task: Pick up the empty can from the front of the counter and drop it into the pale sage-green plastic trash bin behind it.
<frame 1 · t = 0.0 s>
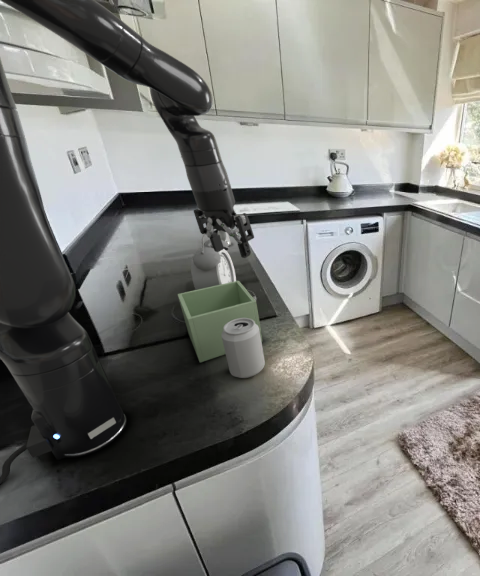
hand: (232, 253, 77), 22 cm above the table, tool pointing down, fingers open, 8 cm apart
can: (248, 369, 73), on the table
alarm clock: (220, 301, 102), on the table
bin: (225, 337, 84), on the table
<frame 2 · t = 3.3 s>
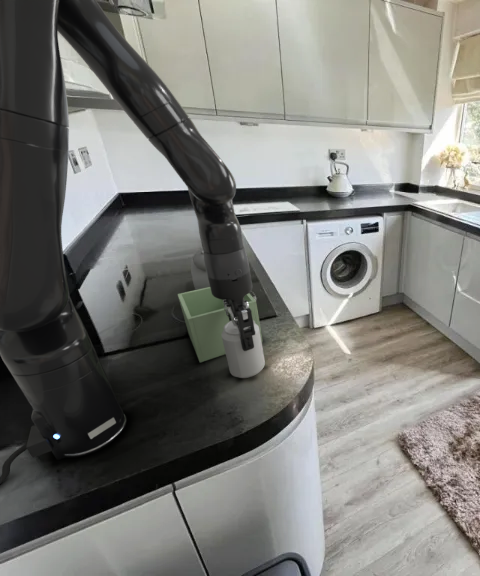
hand: (242, 339, 70), 8 cm above the table, tool pointing down, fingers closed on can, 7 cm apart
can: (248, 369, 73), on the table, touching gripper
everything else where it was.
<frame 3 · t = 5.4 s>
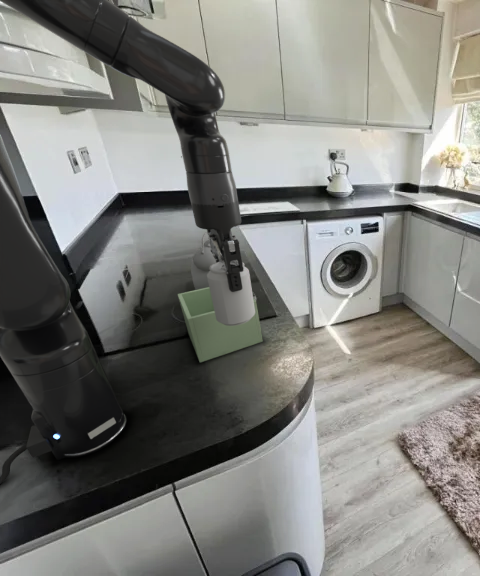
hand: (230, 282, 64), 22 cm above the table, tool pointing down, fingers closed on can, 7 cm apart
can: (236, 319, 67), point 13 cm above the table, touching gripper
everything else where it was.
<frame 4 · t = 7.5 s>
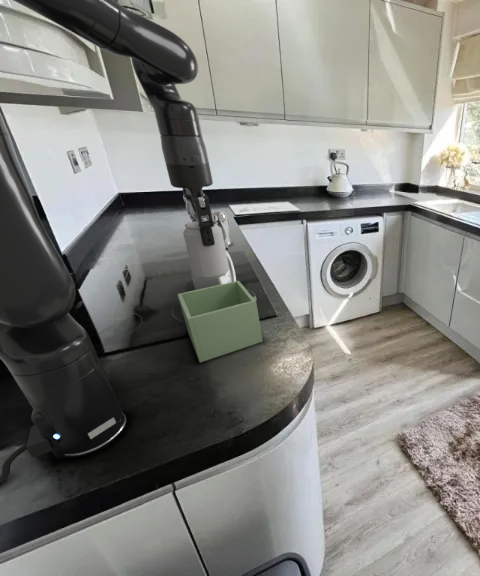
hand: (205, 240, 71), 27 cm above the table, tool pointing down, fingers closed on can, 7 cm apart
can: (212, 275, 75), point 19 cm above the table, touching gripper
everything else where it was.
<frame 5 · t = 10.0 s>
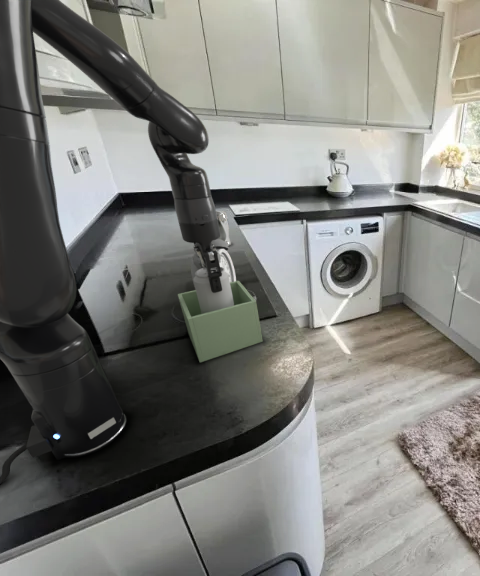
hand: (213, 285, 77), 15 cm above the table, tool pointing down, fingers closed on can, 7 cm apart
can: (219, 315, 81), point 7 cm above the table, touching gripper
everything else where it was.
when the fingers open (11 cm above the table, at t = 12.1 s): can drops 2 cm, resting on bin.
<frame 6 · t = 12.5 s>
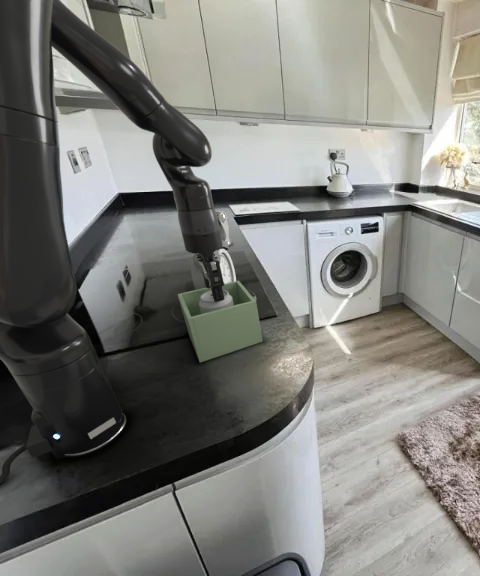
hand: (215, 293, 78), 13 cm above the table, tool pointing down, fingers open, 8 cm apart
can: (224, 336, 84), point 1 cm above the table, touching bin
everything else where it was.
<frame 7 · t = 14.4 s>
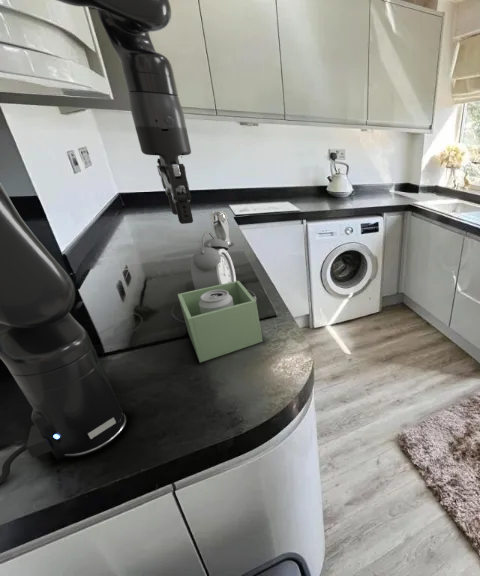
hand: (182, 218, 63), 33 cm above the table, tool pointing down, fingers open, 8 cm apart
nothing on the table moved.
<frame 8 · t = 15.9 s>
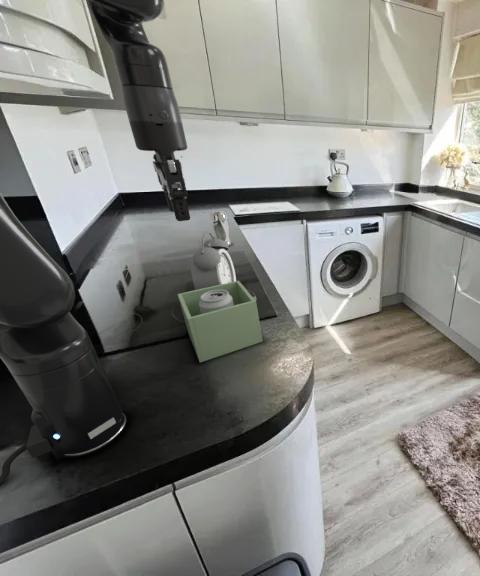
hand: (179, 215, 61), 34 cm above the table, tool pointing down, fingers open, 8 cm apart
nothing on the table moved.
at the end: can inside the target area in the bin (0.2 cm from its centre), point 0.6 cm above the bin's base; the gripper is holding nothing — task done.
